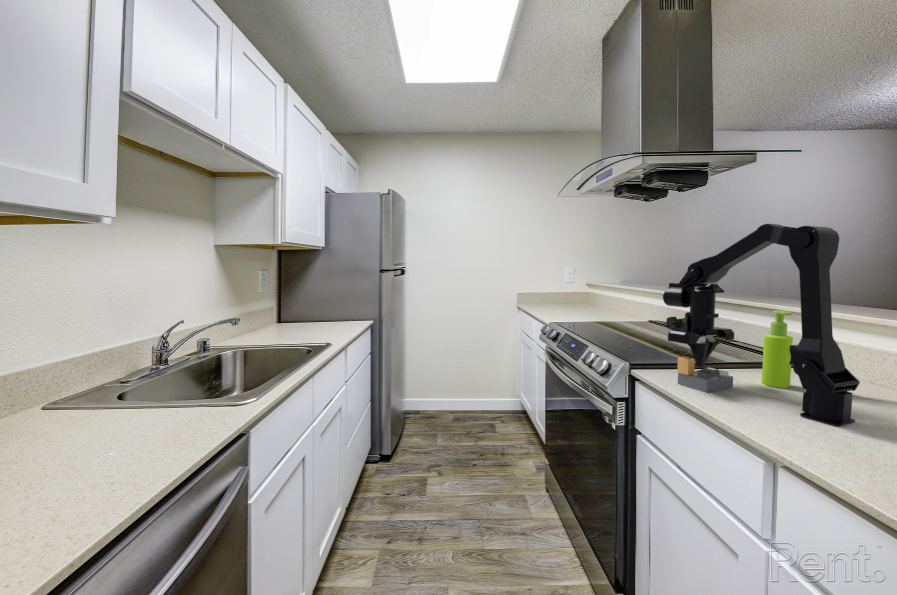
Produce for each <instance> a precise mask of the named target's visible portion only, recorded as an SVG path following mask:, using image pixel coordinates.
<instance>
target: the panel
mask: <svg viewBox="0 0 897 595" xmlns="http://www.w3.org/2000/svg"><path fill="white" fill-rule="evenodd" d="M699 370H700V369H698V370H695V371H694V374H692V375H686V374H682V373H678V372H677V385H679V384H680V386H684V387H685V388H686V387H687V388H691V389H694V390H697V391H700V392H704V393H709V392H711V393H712V392H717V391H721V390H728V389H733V388H734V376H732V375H729V371H727V370H722V369H718V370H719V375H718V376H716V377H713V378H711V379H706V378H702V377H698V376H697V371H699Z"/></svg>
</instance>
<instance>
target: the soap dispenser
mask: <svg viewBox="0 0 897 595" xmlns="http://www.w3.org/2000/svg"><path fill="white" fill-rule="evenodd" d="M772 312H773V313H774V314H775V318H774V321H773V322H771V323H770V332H769V334H764V336H763V353H762V354H763V355H762V370H761V371H762V373H761V384H762V385H763V384H765V385H764V386H766V385H768V386H767V387H770V386H773V387H772V388H776V387H780V388H779V389H788V388H787V387H790V388H791V374H792V364H791V365H790V364H789V362H790V360H791V354H790V350H789V348H790V345H794V344H793V342H794V341H793V340H794V338H793V336H791V335H790V336H789V335H788V323H786V322H785V321H784V316H792V312H789V311H787V310H773V311H772Z"/></svg>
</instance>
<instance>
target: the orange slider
mask: <svg viewBox="0 0 897 595" xmlns="http://www.w3.org/2000/svg"><path fill="white" fill-rule="evenodd" d="M695 365H696V362H695V359H694V358H692V357H690V356H685V355H682V356H681V357H677V369H676V370H677V374H678V373H682V374H686V375H692V374H694V371H696V368H695V367H696V366H695Z"/></svg>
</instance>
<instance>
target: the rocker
mask: <svg viewBox="0 0 897 595" xmlns="http://www.w3.org/2000/svg"><path fill="white" fill-rule="evenodd" d="M698 370H699V371H697V370H696V371H697V376H698V377H702V378H706V379H711V378H713V377H716V376H718V375H719V370H720V369H717V368H713V367H708V366H707V367H705V368H702V369H698Z"/></svg>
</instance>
